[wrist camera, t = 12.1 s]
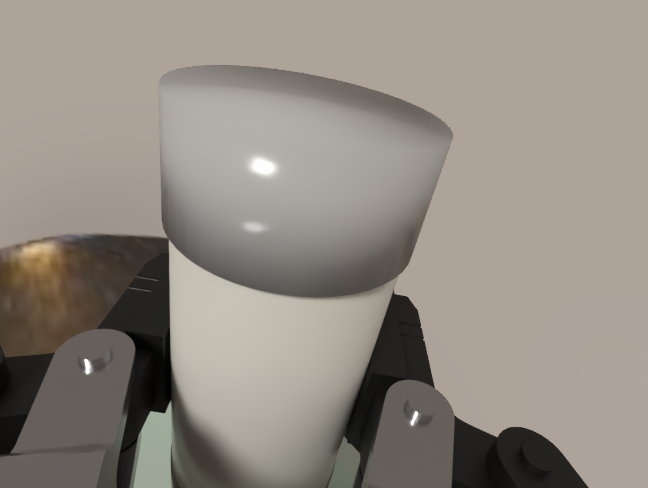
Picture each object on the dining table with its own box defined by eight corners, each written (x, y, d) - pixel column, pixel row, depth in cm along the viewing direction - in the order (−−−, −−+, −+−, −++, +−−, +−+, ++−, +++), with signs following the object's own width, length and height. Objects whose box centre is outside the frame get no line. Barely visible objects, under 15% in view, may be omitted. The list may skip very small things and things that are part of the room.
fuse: (146, 531, 13) (108, 59, 6) (257, 457, 16) (322, 69, 9) (214, 675, 11) (285, 174, 4) (331, 558, 13) (505, 139, 6)
